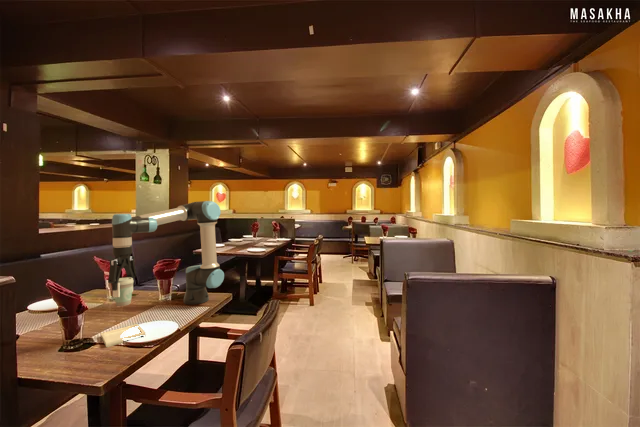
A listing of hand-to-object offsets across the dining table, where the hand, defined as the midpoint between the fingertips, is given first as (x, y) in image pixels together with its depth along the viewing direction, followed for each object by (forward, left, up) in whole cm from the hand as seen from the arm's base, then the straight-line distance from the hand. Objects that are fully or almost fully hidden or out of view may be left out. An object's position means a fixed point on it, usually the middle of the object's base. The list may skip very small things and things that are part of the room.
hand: (123, 294), depth 136 cm
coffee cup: (0, 0, -5) cm, 5 cm away
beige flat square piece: (+1, 0, -20) cm, 20 cm away
